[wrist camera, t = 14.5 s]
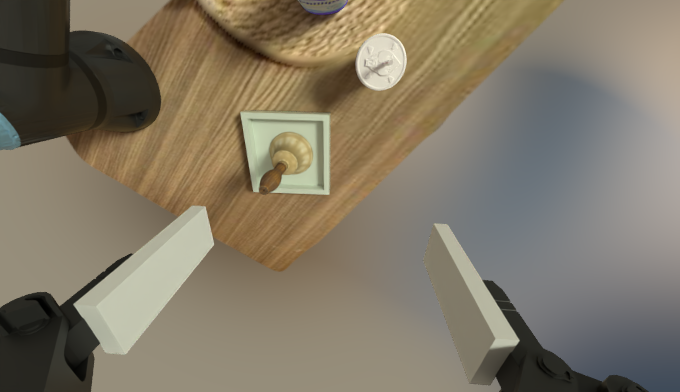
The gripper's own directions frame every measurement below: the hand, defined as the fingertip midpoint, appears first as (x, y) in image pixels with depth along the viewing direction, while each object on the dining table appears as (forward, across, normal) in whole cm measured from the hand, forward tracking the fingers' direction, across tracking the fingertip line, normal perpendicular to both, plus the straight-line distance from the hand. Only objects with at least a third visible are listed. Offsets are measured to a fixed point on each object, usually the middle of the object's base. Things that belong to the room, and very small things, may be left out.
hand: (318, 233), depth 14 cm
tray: (+33, -9, -6) cm, 34 cm away
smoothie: (+33, +5, +10) cm, 35 cm away
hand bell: (+32, -9, -6) cm, 34 cm away
